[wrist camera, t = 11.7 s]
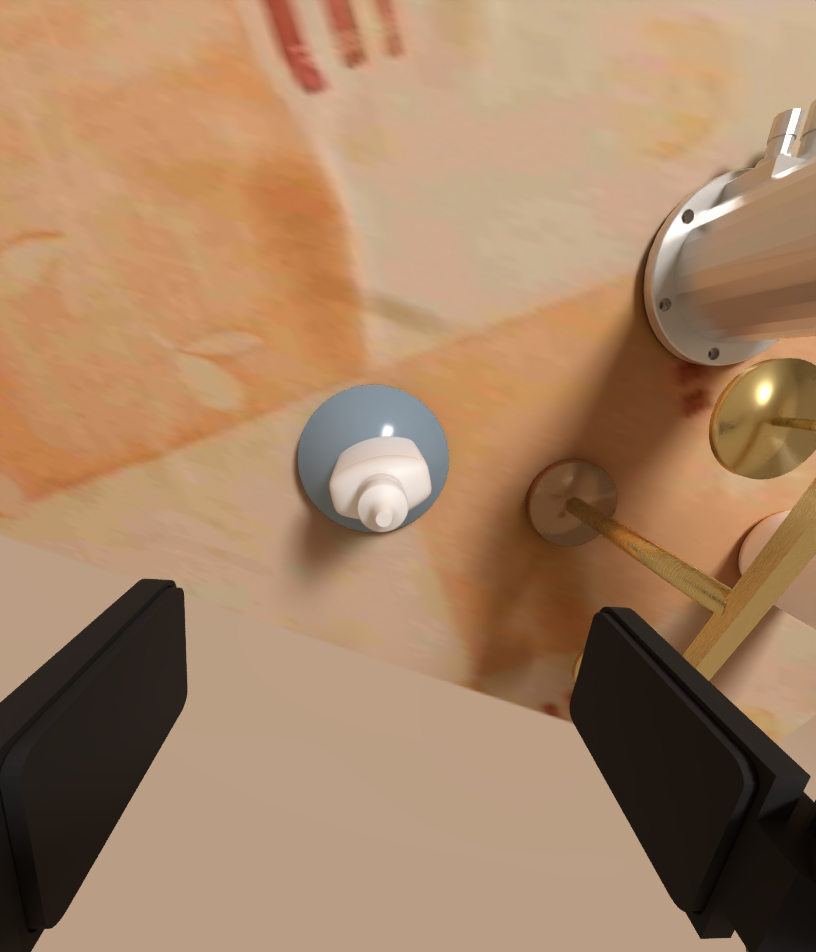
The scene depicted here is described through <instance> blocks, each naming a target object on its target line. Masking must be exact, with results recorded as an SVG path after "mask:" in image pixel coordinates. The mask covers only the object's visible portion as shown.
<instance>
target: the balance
mask: <svg viewBox="0 0 816 952" xmlns="http://www.w3.org/2000/svg"><path fill="white" fill-rule="evenodd" d="M709 440H710V446H711V449H712V452H713V454H714V456H715V458H716V459H717V461H718V462H719V463H720V464H721V465H722V466H723V467H724V468H725V469H726V470H728V471H730V472H732V473H734V474H737V475H740V476H744V477H747V478H752V479H770V478H775V477H778V476H781V475H784V474H786V473H788V472H790V471H792V470H793V469H795V468H796V467H798V466H799V465H800V464H802V463H803V462H804V461H805V460H806V459H807V458H808V457H809V456H811V454H812V453H813V452H814V451H815V450H816V366H815V365H814V364H812V363H810V362H808V361H805V360H801V359H793V358H786V359H770V360H766V361H762V362H759V363H757V364H754V365H752V366H750V367H749V368H747V369H745V370H744V371H742V372H741V373H740V374H739V375H737V376H736V377H735V378H734V379H733V380H732V381H731V382H730V383H729V384H728V385H727V387H726V388H725V389H724V390H723V392H722V393H721V395H720V397H719V398H718V400H717V402H716V404H715V406H714V409H713V412H712V415H711V419H710V425H709ZM616 504H617V492H616V488H615V485H614V482H613V481H612V479H611V477H610V476H609V475H608V474H607V473H606V472H605V471H604V470H603V469H601V468H600V467H598V466H596V465H593V464H591V463H589V462H586V461H583V460H578V459H567V460H562V461H559V462H556V463H554V464H552V465H550V466H548V467H547V468H545V469H544V470H543V471H542V472H540V473H539V475H538V476H537V477H536V478H535V479H534V481H533V482H532V484H531V486H530V488H529V490H528V493H527V497H526V513H527V517H528V519H529V522H530V523H531V525H532V527H533V528H534V529H535V530H536V531H537V532H538V533H539V534H540V535H541V536H542V537H543V538H545V539H546V540H547V541H549V542H551V543H553V544H556V545H560V546H577V545H581V544H584V543H586V542H588V541H590V540H592V539H594V538H595V537H597V536H598V535H599V534H600V535H602V536H603V537H604V538H606V539H607V540H609V541H610V542H612V543H613V544H614V545H616V546H617V547H619V548H620V549H622V550H623V551H624V552H626V553H627V554H629V555H630V556H632V557H633V558H634V559H636V560H637V561H639V562H640V563H642V564H643V565H644V566H646V567H647V568H649V569H650V570H651V571H653V572H654V573H656V574H657V575H659V576H660V577H661V578H663V579H664V580H666V581H667V582H669V583H670V584H671V585H673V586H674V587H676V588H677V589H679V590H680V591H681V592H683V593H684V594H686V595H687V596H689V597H690V598H691V599H693V600H694V601H696V602H697V603H699V604H700V605H701V606H703V607H704V608H706V609H707V610H709V611H710V612H711V613H713V615H712V617H711V618H710V619H709V621H708V622H707V623H706V625H705V626H704V627H703V629H702V630H701V631H700V633H699V634H698V635H697V637H696V638H695V639H694V641H693V642H692V643H691V645H690V646H689V647H688V649H687V650H686V651H685V653H684V654H683V655H682V656H683V657H684V658H685V659H686V660H687V661H688V662H689V663H690V664H691V665H692V666H693V667H694V668H695V669H696V670H697V671H699V672H700V673H701V674H702V675H703V676H704V677H705V678H706V679H707V680H708V681H709V680H710V679H711V678H712V677H713V676H714V674H715V673H716V672H717V671H718V670H719V669H720V667H721V666H722V665H723V664H724V663H725V661H726V660H727V659H728V658H729V657H730V655H731V654H732V653H733V652H734V651H735V650H736V648H737V647H738V646H739V645H740V644H741V642H742V641H743V640H744V639H745V638H746V637H747V635H748V634H749V633H750V632H751V631H752V629H753V628H754V627H755V626H756V625H757V624H758V622H759V621H760V620H761V619H762V618H763V616H764V615H765V614H766V613H767V612H768V610H769V609H770V608H771V607H772V606H773V605H774V603H775V602H776V601H777V600H778V599H779V597H780V596H781V595H782V594H783V593H784V592H785V590H786V589H787V588H788V587H789V586H790V584H791V583H792V582H793V581H794V580H795V579H796V577H797V576H798V575H799V574H800V573H801V571H802V570H803V569H804V568H805V567H806V566H807V564H808V563H809V562H810V561H811V560H812V558H813V557H814V556H815V555H816V478H815V479H814V481H813V482H812V483H811V485H810V486H809V487H808V489H807V490H806V491H805V493H804V494H803V495H802V497H801V498H800V499H799V501H798V502H797V503H796V505H795V506H794V507H793V509H792V510H791V511H790V513H789V514H788V515H787V517H786V518H785V519H784V521H783V522H782V523H781V525H780V526H779V527H778V529H777V530H776V531H775V533H774V534H773V535H772V537H771V538H770V539H769V541H768V542H767V543H766V545H765V546H764V547H763V549H762V550H761V551H760V553H759V554H758V555H757V557H756V558H755V559H754V561H753V562H752V563H751V565H750V566H749V567H748V569H747V570H746V571H745V573H744V574H743V575H742V577H741V578H740V579H739V581H738V582H737V583H736V585H735V586H734V587H733V589H731V588H730V587H728V586H726V585H725V584H723V583H721V582H720V581H718V580H716V579H715V578H713V577H711V576H710V575H708V574H706V573H704V572H703V571H701V570H699V569H698V568H696V567H694V566H693V565H691V564H689V563H688V562H686V561H684V560H683V559H681V558H679V557H678V556H676V555H674V554H673V553H671V552H669V551H668V550H666V549H664V548H662V547H661V546H659V545H657V544H656V543H654V542H652V541H651V540H649V539H647V538H646V537H644V536H642V535H641V534H639V533H637V532H636V531H634V530H632V529H631V528H629V527H627V526H626V525H624V524H622V523H620V522H619V521H617V520H615V519H614V518H612V517H613V515H614V512H615V509H616ZM584 649H585V648H584ZM584 649H583V650H582V651H581V653H580V654H579V655H578V657H577V659H576V661H575V663H574V666H573V681H574V684H575V683H576V679H577V675H578V671H579V668H580V664H581V660H582V657H583V653H584Z"/></svg>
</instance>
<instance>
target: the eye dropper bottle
mask: <svg viewBox="0 0 816 952" xmlns="http://www.w3.org/2000/svg"><path fill="white" fill-rule="evenodd" d="M329 488H330V493H331V498H332V501H333V505H334V508H335V510H336V511H337V513H339V514H341V515H343V516H346V517H350V518H355V519H360V520H361V522H362V523H363V524H364V525H365V526H366V527H368V528H369V529H370V530H373V531H377V532H387V531H388V532H389V531H391V530H394V529H396V528H397V527H398V526H400V524H402V522H404V520H405V518H406V516H407V513H408V511H409V510H410V509H412V508H414V507H416V506H417V505H419V504H420V503H421V502H423V501H424V500H425V499H426V498H428V496H429V495H430V493H431V489H432V488H431V480H430V475H429V470H428V466H427V464H426V462H425V460H424V458H423V456H422V454H421V453H420V451H419V449H418V448H417V446H416V445H415V443H414V442H413V441H412V440H410V439H407V438H403V437H395V436H382V437H375V438H371V439H367V440H364V441H361V442H359V443H357V444H355V445H353V446H351V447H349V448H348V449H346V450H345V451H343V452H342V453H341V454H340V456H339V457H338V460H337V462H336V465H335V467H334V470H333V473H332V475H331V479H330V485H329Z"/></svg>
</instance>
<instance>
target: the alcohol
mask: <svg viewBox="0 0 816 952" xmlns="http://www.w3.org/2000/svg"><path fill="white" fill-rule="evenodd" d="M790 511H791V510H788V511H783V512H779V513H776V514H773V515H771V516H769V517H767V518H765V519H764V520H762V521H761V522H760V523H759V524H757V525H756V526H755V527H754V528H753V529H752V530H751V531H750V533H749V534H748V535H747V537H746V538H745V540H744V542H743V544H742V546H741V549H740V553H739V557H738V566H739V571H740V573H741V575H743V574H744V573H745V571H746V570H747V569H748V567H749V566H750V565H751V563H752V562H753V561H754V559H755V558H756V557H757V555H758V554H759V553H760V551H761V550H762V549H763V547H764V546H765V545H766V543H767V542H768V541H769V539H770V538H771V537H772V535H773V534H774V533H775V531H776V530H777V529H778V527H779V526H780V525H781V523H782V522H783V521H784V519H785V518H786V517H787V515H788V514H789V513H790ZM774 606H776V607H778V608H779V609H781V610H783V611H785V612H786V613H788V614H790V615H792V616H793V617H795V618H797V619H799V620H800V621H802V622H804V623H806V624H807V625H809V626H811V627H813V628H814V629H816V555H815V556H814V557H813V558H812V560H811V561H810V562H809V563H808V564H807V566H806V567H805V568H804V569H803V570H802V571H801V573H800V574H799V575H798V576H797V577H796V579H795V580H794V581H793V582H792V583H791V584H790V586H789V587H788V588H787V589H786V590H785V592H784V593H783V594H782V595H781V596H780V597H779V599H778V600H777V601H776V602H775V603H774Z"/></svg>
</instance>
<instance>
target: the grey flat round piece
mask: <svg viewBox="0 0 816 952" xmlns="http://www.w3.org/2000/svg"><path fill="white" fill-rule="evenodd" d="M382 436H395V437H403V438H407V439H410V440H412V441H413V442H414V443H415V445H416V446H417V448H418V449H419V451H420V453H421V454H422V456H423V458H424V460H425V462H426V464H427V466H428V470H429V475H430V480H431V488H432V489H431V493H430V495H429V496H428V498H426V499H425V500H424V501H423V502H421V503H420V504H419V505H417V506H416V507H414V508H412V509H410V510H409V511H408V513H407V516H406V518H405V520H404V522H402V524H400V526H398V527H397V528H396V529H398V528H400V527H403V526H405V525H407V524H409V523H411V522H413V521H415V520H416V519H418V518H419V517H420V516H422V515H423V514H424V513H425V512H426V511H427V510H428V509H429V508H430V507H431V506H432V505H433V504H434V502H435V501H436V499H437V498H438V496H439V495H440V493H441V491H442V489H443V486H444V484H445V481H446V478H447V473H448V467H449V450H448V445H447V440H446V437H445V434H444V431H443V429H442V427H441V425H440V423H439V421H438V420H437V418H436V417H435V415H434V414H433V413H432V412H431V411H430V410H429V408H428V407H427V406H425V405H424V404H423V403H422V402H421V401H420V400H418V399H417V398H415V397H414V396H412V395H410V394H408V393H406V392H404V391H402V390H400V389H397V388H394V387H390V386H384V385H361V386H357V387H352V388H349V389H347V390H344V391H342V392H340V393H338V394H336V395H334V396H332V397H331V398H330V399H328V400H327V401H325V402H324V403H323V404H322V405H321V406H320V407H319V408H318V409H317V410H316V411H315V412H314V414H313V415H312V416H311V417H310V419H309V421H308V422H307V424H306V426H305V428H304V430H303V433H302V435H301V439H300V442H299V447H298V469H299V475H300V478H301V482H302V485H303V487H304V489H305V491H306V493H307V495H308V496H309V498H310V500H311V501H312V502H313V504H314V505H315V506H316V507H317V508H318V509H319V510H320V511H321V512H322V513H323V514H324V515H325V516H327V517H328V518H329V519H331V520H332V521H334V522H336V523H338V524H339V525H342V526H344V527H347V528H349V529H353V530H357V531H362V532H377V531H373V530H370V529H369V528H368V527H366V526H365V525H364V524H363V523H362V522H361V520H360V519H355V518H350V517H346V516H343V515H341V514H339V513H337V511H336V510H335V508H334V505H333V501H332V498H331V493H330V488H329V485H330V479H331V475H332V473H333V470H334V467H335V465H336V462H337V460H338V457H339V456H340V454H341V453H342V452H343V451H345V450H346V449H348V448H349V447H351V446H353V445H355V444H357V443H359V442H361V441H364V440H367V439H371V438H375V437H382Z"/></svg>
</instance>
